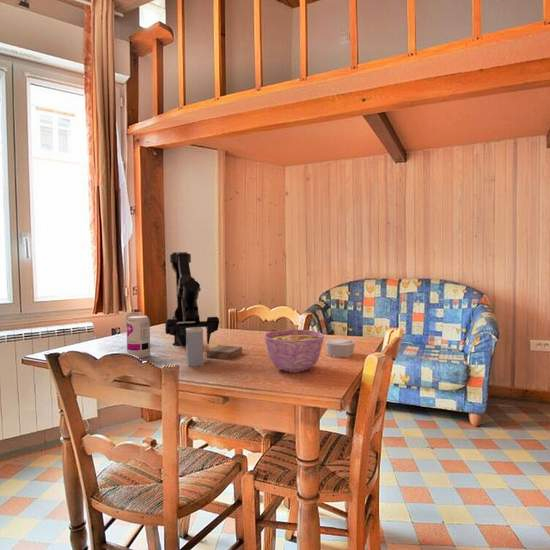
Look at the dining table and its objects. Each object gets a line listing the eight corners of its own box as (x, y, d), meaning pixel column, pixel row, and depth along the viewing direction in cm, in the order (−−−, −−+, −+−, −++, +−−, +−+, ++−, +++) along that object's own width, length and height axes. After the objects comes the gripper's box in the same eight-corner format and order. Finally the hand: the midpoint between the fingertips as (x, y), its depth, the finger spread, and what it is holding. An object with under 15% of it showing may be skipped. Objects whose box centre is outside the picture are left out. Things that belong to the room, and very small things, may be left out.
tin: (186, 362, 159) (185, 327, 158) (201, 361, 160) (200, 326, 160) (188, 366, 154) (187, 330, 153) (203, 365, 155) (203, 329, 155)
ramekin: (353, 359, 162) (353, 345, 162) (322, 357, 165) (322, 343, 165) (356, 352, 173) (356, 339, 173) (328, 350, 176) (328, 337, 176)
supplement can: (129, 359, 163) (128, 319, 163) (125, 355, 171) (124, 316, 170) (152, 357, 167) (151, 317, 166) (147, 352, 174) (146, 314, 174)
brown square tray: (206, 358, 167) (206, 350, 167) (219, 352, 176) (219, 345, 176) (230, 360, 163) (230, 352, 163) (242, 354, 173) (242, 346, 172)
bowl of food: (320, 361, 160) (320, 329, 159) (328, 377, 140) (328, 340, 139) (264, 362, 159) (264, 329, 158) (264, 378, 139) (263, 341, 138)
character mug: (148, 343, 191) (147, 313, 190) (132, 346, 186) (131, 315, 186) (136, 340, 199) (135, 311, 198) (120, 342, 194) (119, 312, 193)
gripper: (212, 321, 174) (218, 355, 164) (163, 323, 168) (166, 359, 158) (216, 303, 166) (222, 337, 156) (164, 305, 160) (168, 341, 150)
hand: (195, 344), depth 155 cm, fingers open, 9 cm apart
